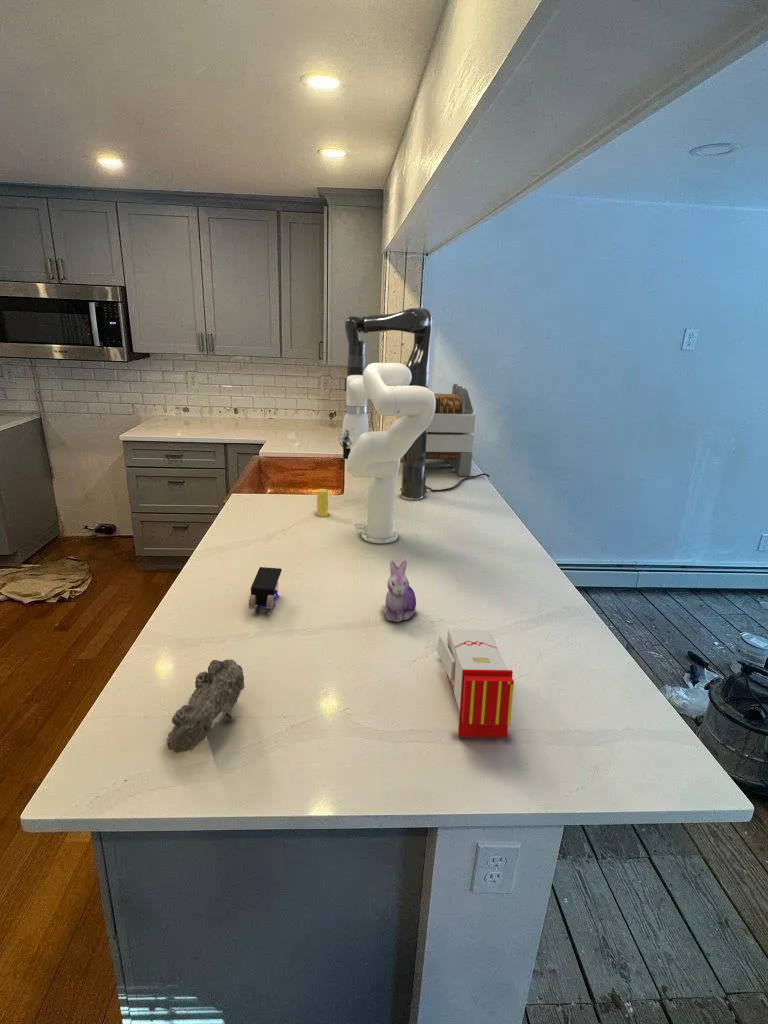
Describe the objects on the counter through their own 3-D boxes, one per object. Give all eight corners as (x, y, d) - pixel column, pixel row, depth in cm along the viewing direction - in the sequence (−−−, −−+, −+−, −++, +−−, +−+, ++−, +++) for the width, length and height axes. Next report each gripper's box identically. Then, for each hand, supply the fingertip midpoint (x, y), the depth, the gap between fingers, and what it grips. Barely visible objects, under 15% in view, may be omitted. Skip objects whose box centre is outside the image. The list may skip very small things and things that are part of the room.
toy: (488, 613, 130) (523, 677, 101) (484, 667, 133) (517, 744, 104) (435, 612, 130) (455, 676, 101) (432, 666, 133) (451, 743, 103)
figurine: (392, 627, 141) (395, 572, 136) (374, 608, 149) (376, 556, 144) (425, 619, 145) (429, 566, 140) (405, 601, 154) (408, 550, 149)
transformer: (395, 457, 301) (399, 379, 287) (455, 458, 305) (462, 381, 291) (404, 475, 269) (409, 388, 255) (471, 476, 273) (479, 391, 259)
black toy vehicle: (274, 622, 143) (283, 588, 157) (273, 597, 140) (282, 565, 153) (248, 621, 143) (258, 588, 157) (246, 596, 140) (257, 564, 153)
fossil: (192, 660, 117) (244, 628, 112) (224, 691, 120) (276, 661, 115) (142, 746, 98) (202, 712, 93) (182, 779, 101) (242, 748, 96)
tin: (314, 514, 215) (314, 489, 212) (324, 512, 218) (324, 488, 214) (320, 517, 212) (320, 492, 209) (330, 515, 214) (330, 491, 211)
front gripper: (364, 407, 213) (363, 451, 218) (332, 411, 200) (332, 458, 205) (379, 409, 209) (378, 454, 214) (348, 414, 196) (347, 462, 201)
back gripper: (373, 366, 239) (371, 405, 245) (354, 363, 250) (353, 400, 255) (358, 367, 235) (357, 406, 240) (340, 363, 246) (339, 401, 251)
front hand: (355, 456), depth 210 cm, fingers open, 9 cm apart
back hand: (355, 403), depth 248 cm, fingers open, 8 cm apart
